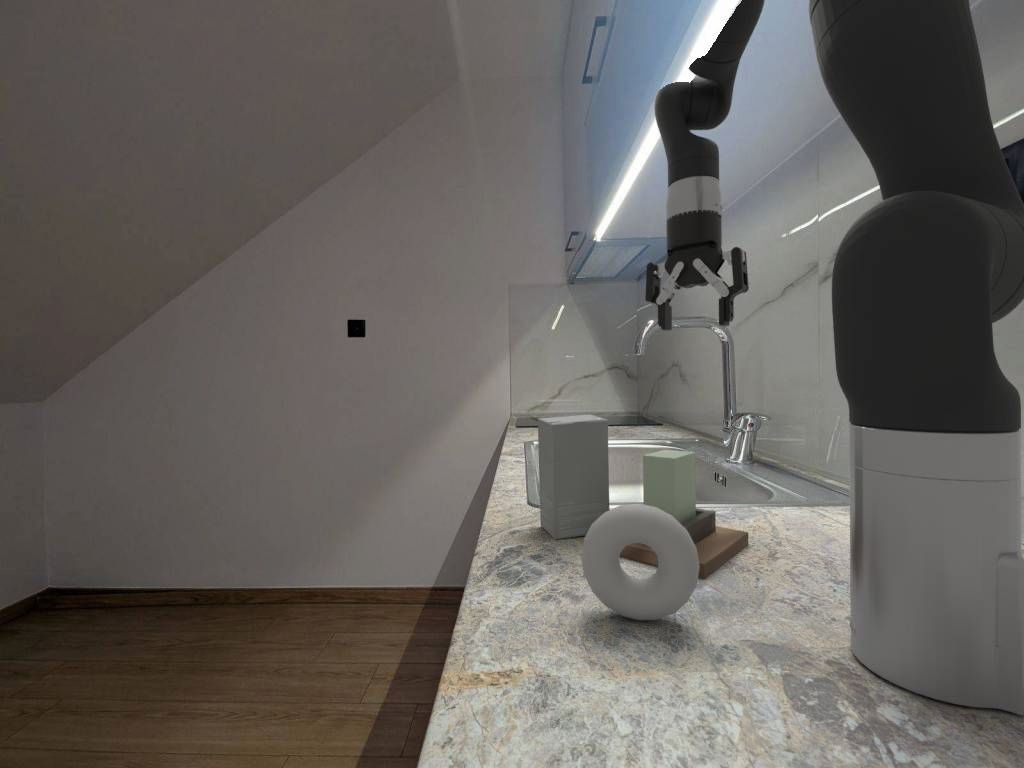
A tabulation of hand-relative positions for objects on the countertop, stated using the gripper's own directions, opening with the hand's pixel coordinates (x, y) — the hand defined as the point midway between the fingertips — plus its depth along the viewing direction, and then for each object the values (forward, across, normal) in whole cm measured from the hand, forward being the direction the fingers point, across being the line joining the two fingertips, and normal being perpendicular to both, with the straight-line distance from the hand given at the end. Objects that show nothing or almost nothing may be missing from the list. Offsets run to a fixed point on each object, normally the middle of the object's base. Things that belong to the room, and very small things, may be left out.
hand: (694, 328), depth 71 cm
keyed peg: (+27, +2, -13) cm, 30 cm away
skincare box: (+28, -11, -16) cm, 34 cm away
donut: (+28, +8, -32) cm, 43 cm away
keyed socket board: (+28, +2, -13) cm, 31 cm away
